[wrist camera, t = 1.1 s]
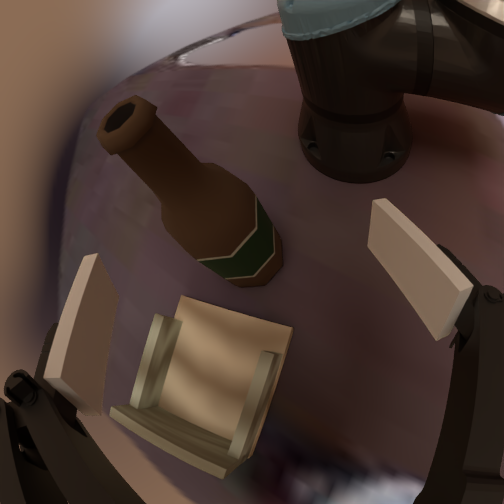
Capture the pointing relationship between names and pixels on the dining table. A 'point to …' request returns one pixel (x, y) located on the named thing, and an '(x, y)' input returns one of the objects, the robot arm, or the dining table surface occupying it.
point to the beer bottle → (195, 197)
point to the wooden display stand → (206, 384)
